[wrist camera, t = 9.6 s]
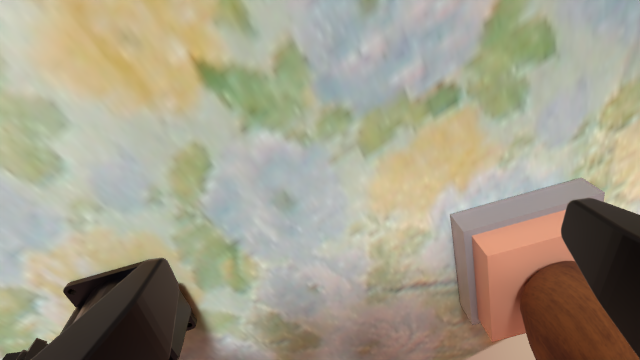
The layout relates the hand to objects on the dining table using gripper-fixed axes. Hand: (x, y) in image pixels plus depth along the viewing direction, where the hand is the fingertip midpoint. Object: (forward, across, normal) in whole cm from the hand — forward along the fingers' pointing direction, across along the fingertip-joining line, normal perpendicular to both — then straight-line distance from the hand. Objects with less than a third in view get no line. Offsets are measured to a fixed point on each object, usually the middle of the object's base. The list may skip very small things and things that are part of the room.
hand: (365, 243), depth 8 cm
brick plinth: (+14, -12, +14) cm, 23 cm away
